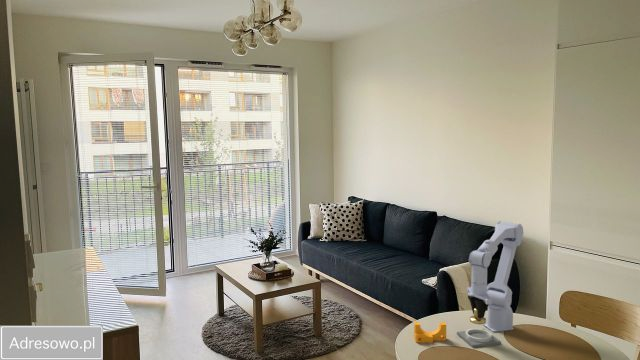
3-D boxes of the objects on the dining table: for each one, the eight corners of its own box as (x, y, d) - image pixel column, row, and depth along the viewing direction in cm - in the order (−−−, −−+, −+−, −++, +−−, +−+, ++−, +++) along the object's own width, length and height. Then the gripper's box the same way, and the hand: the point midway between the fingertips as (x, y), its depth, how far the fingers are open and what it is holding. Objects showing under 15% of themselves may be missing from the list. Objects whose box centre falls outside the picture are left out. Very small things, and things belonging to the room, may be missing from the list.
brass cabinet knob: (481, 317, 187) (481, 305, 187) (488, 323, 182) (489, 311, 181) (467, 318, 187) (467, 306, 186) (474, 324, 181) (474, 312, 180)
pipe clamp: (415, 342, 183) (416, 326, 182) (414, 338, 187) (414, 322, 186) (447, 342, 182) (447, 326, 182) (444, 337, 187) (444, 322, 186)
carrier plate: (483, 331, 192) (483, 326, 192) (501, 344, 180) (501, 338, 180) (456, 334, 189) (456, 329, 189) (472, 347, 178) (472, 342, 177)
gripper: (460, 277, 189) (459, 309, 190) (479, 288, 175) (478, 324, 176) (476, 275, 190) (475, 308, 192) (496, 287, 176) (496, 322, 177)
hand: (478, 315), depth 184 cm, fingers closed on brass cabinet knob, 3 cm apart
